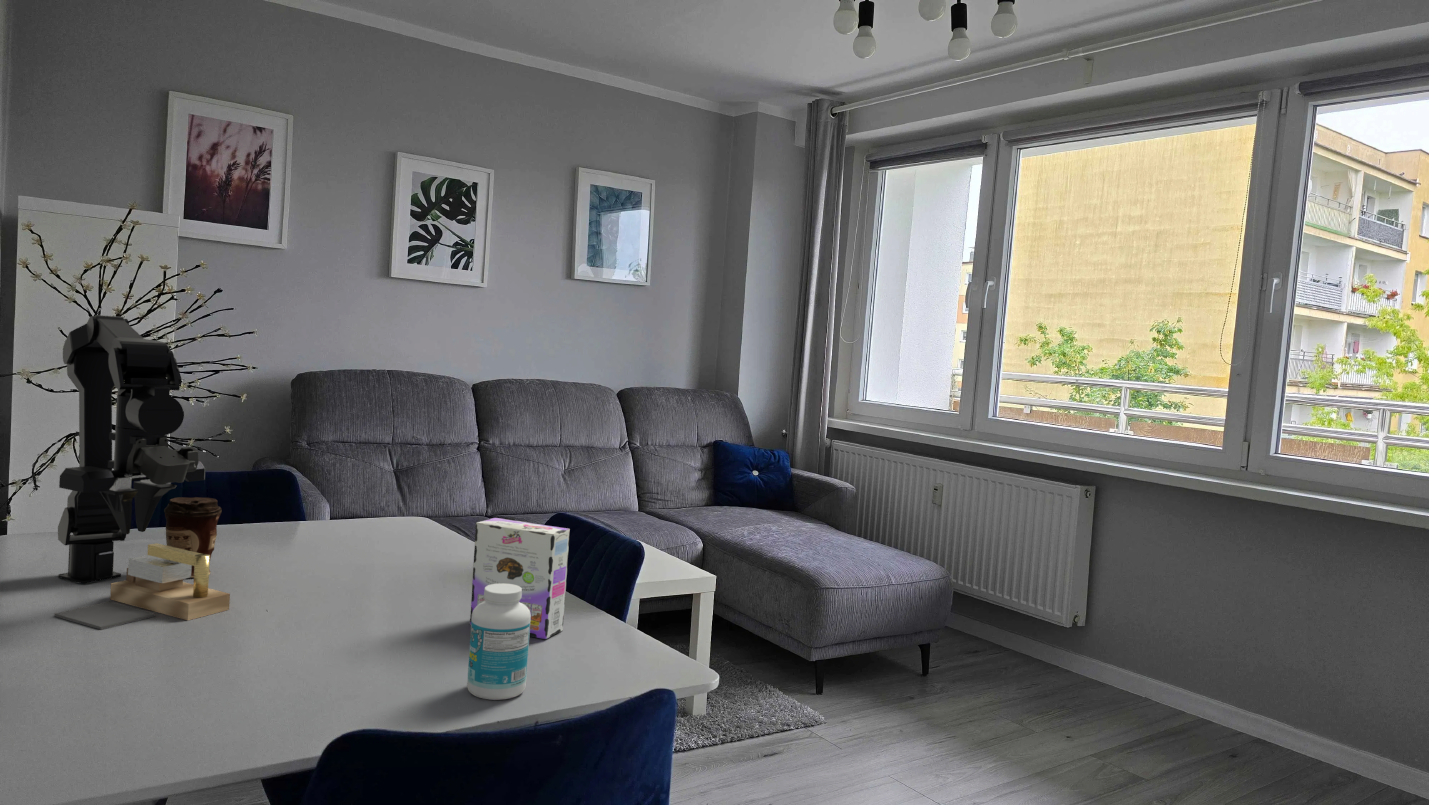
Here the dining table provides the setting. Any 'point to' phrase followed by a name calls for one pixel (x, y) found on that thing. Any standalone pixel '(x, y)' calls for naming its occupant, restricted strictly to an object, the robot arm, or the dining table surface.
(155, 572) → the grey flat block
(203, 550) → the brown jar
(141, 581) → the latch plate
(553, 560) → the candy box
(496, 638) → the pill bottle
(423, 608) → the dining table surface
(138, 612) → the mat
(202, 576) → the latch lever
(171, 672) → the dining table surface
